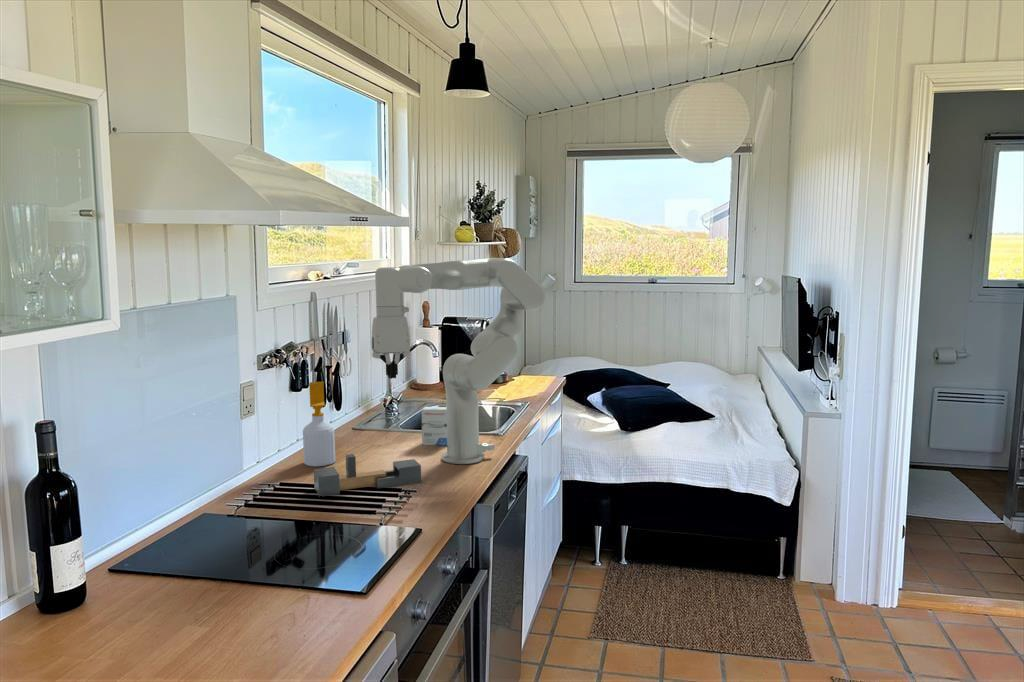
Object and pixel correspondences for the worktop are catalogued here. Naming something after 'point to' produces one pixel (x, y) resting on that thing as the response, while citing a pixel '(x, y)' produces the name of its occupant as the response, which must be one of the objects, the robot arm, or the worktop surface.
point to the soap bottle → (318, 432)
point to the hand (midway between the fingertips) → (392, 377)
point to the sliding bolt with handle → (358, 476)
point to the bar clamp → (400, 475)
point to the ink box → (434, 426)
